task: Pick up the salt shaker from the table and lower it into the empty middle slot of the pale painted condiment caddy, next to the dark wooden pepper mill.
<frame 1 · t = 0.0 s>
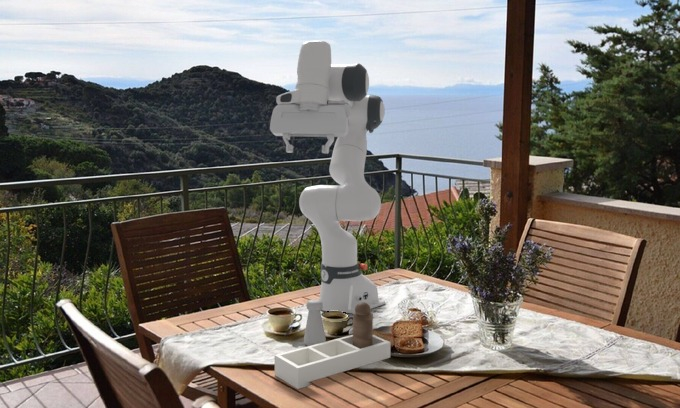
hand: (307, 152, 171), 52 cm above the table, tool tilted 20°, fingers open, 8 cm apart
caddy: (334, 367, 165), on the table
salt shaker: (314, 348, 179), on the table
pepper mill: (362, 355, 170), point 1 cm above the table, touching caddy
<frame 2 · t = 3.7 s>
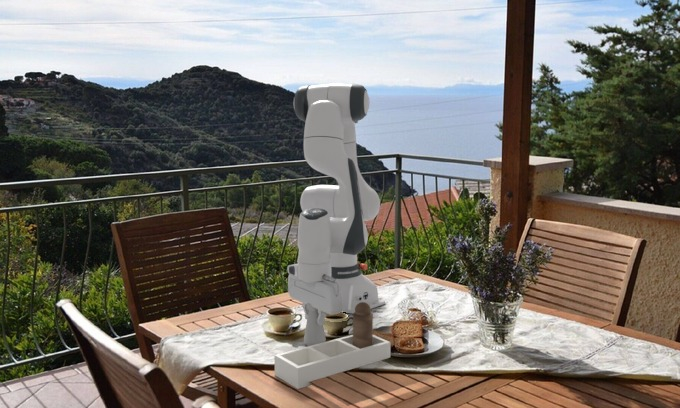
hand: (314, 322, 178), 7 cm above the table, tool pointing down, fingers closed on salt shaker, 4 cm apart
salt shaker: (314, 348, 179), on the table, touching gripper
everything else where it was.
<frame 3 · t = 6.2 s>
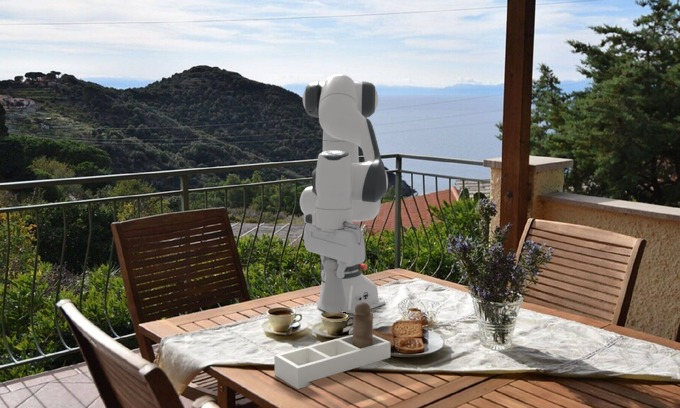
hand: (333, 275, 162), 23 cm above the table, tool pointing down, fingers closed on salt shaker, 3 cm apart
salt shaker: (333, 311, 163), point 14 cm above the table, touching gripper
everything else where it was.
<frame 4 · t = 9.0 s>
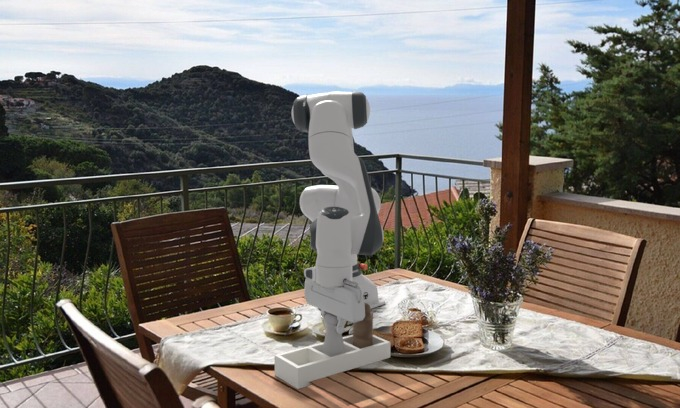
hand: (334, 330, 164), 10 cm above the table, tool pointing down, fingers closed on salt shaker, 3 cm apart
salt shaker: (333, 364, 165), point 1 cm above the table, touching caddy, gripper
everything else where it was.
when the fingers open (10 cm above the table, at t = 9.0 s): salt shaker stays where it is, resting on caddy.
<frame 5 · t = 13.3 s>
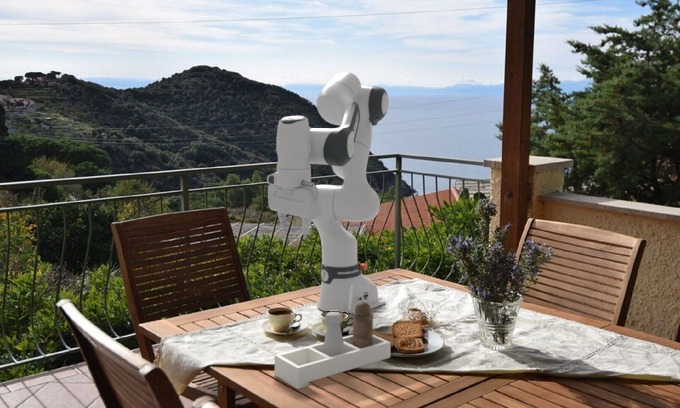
hand: (294, 231, 176), 31 cm above the table, tool pointing down, fingers open, 8 cm apart
salt shaker: (333, 364, 165), point 1 cm above the table, touching caddy
everything else where it was.
at the end: salt shaker 0.1 cm off-centre on the caddy, point 0.8 cm above the caddy's base; salt shaker tilted 0°; pepper mill moved 0.0 cm from its start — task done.
